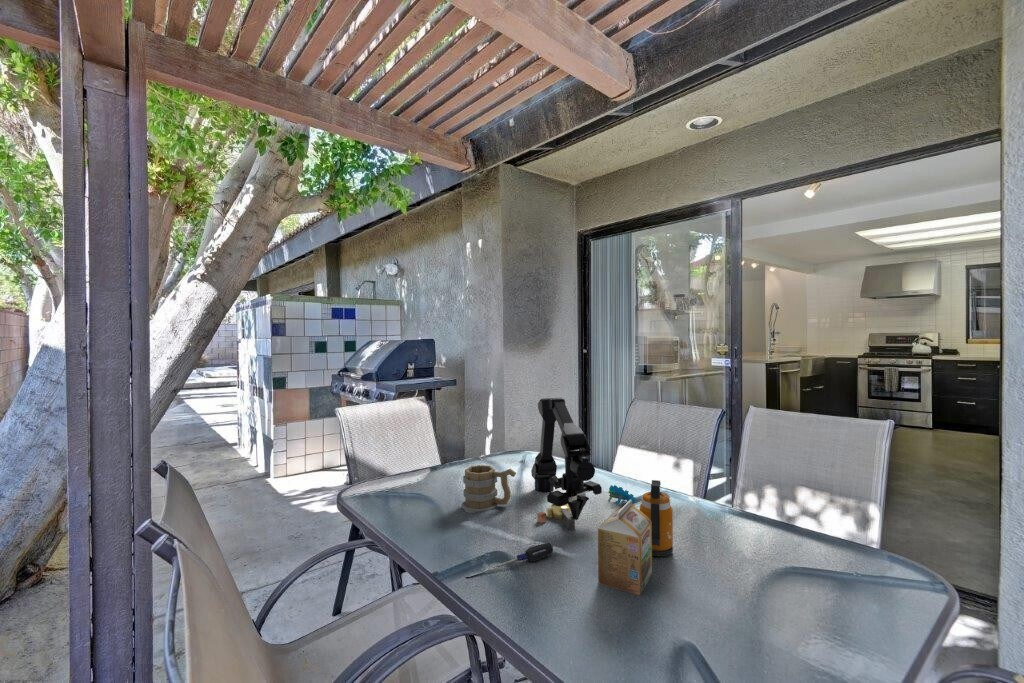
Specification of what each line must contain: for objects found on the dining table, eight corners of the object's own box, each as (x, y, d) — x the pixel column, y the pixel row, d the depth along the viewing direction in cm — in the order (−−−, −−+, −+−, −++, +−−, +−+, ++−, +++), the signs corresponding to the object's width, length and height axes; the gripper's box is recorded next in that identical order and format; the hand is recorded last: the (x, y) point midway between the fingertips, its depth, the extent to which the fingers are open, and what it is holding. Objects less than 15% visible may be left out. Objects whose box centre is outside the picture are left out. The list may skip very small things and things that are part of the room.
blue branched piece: (641, 501, 168) (625, 485, 164) (635, 516, 165) (618, 500, 162) (619, 496, 177) (603, 481, 174) (612, 510, 174) (596, 495, 171)
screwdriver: (467, 582, 120) (467, 567, 120) (463, 575, 124) (462, 561, 124) (555, 558, 132) (555, 545, 131) (548, 553, 135) (548, 540, 135)
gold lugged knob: (543, 510, 162) (543, 501, 162) (571, 508, 164) (571, 499, 164) (556, 531, 146) (556, 520, 146) (587, 528, 148) (586, 517, 147)
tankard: (456, 511, 166) (455, 469, 166) (472, 499, 178) (472, 460, 177) (508, 519, 159) (508, 475, 158) (522, 505, 170) (521, 464, 170)
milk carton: (639, 595, 113) (639, 517, 112) (598, 583, 118) (597, 509, 118) (652, 575, 122) (651, 502, 121) (612, 564, 127) (612, 495, 127)
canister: (672, 545, 137) (672, 478, 137) (672, 564, 127) (672, 491, 126) (641, 541, 140) (640, 475, 140) (638, 559, 130) (637, 488, 129)
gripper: (578, 460, 161) (580, 505, 162) (535, 471, 151) (537, 519, 151) (602, 467, 152) (603, 515, 152) (558, 479, 141) (559, 530, 142)
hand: (575, 519), depth 150 cm, fingers closed
